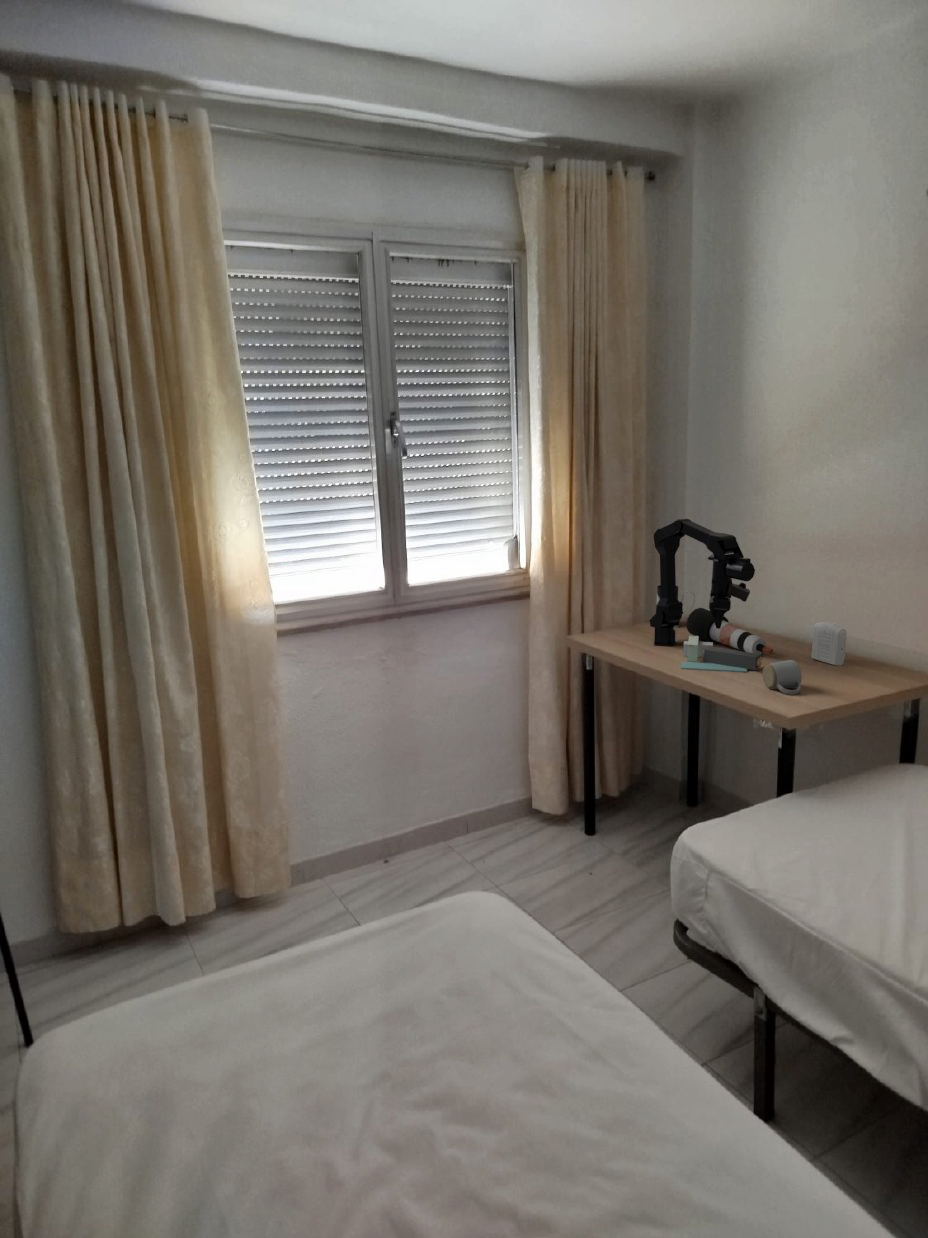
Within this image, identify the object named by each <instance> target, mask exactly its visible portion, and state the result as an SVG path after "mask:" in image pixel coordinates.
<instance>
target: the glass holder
mask: <svg viewBox="0 0 928 1238" xmlns="http://www.w3.org/2000/svg"><path fill="white" fill-rule="evenodd" d="M656 589H657V591H656V605H657V604H658V602H659V600H660V598H661V584H659V585H657V588H656ZM688 592H689V593H691V594H692V595H693V601H692V605H691V606H690V608H689V609H688V610H687V611H686V612H685V613H683V614H682V618H683V617H684V616H686V615H687V614H688V613H689V612H691V611H692V608H693V607H694V604H695V602H696V601H695V599H696V596H695V593H694V592H693V591H691V590H686V591H684V592H683V594H682V596H681V600H679V586H678V585H676V598H677V599H678V601H679V602H682V603H683V600H684V598H685V597H684V596H685V594H686V593H688ZM679 625H680V624H679ZM679 625H678V626H674V629H677V628H679V627H680V626H679Z"/></svg>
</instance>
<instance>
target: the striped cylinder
mask: <svg viewBox="0 0 928 1238" xmlns="http://www.w3.org/2000/svg"><path fill="white" fill-rule="evenodd" d="M686 629H687V631H688V633H689V634H690V635H693V636H699V639H701V640H703V641H704V642H713V643H715V644H719V643H721V644H723V645H726V646H729V647H731V648H734V649H737V650H738V651H742V652H748V653H755V654H763V653H764V654H766V655H768V656H772V655H773V654H774V652H775V650H774V649H773V648H770V647H768V646H767V645H766V640H765V639H764V638H762V637H761V636H757V635H756V634H753V633H751V632H749V631H747V630H744V629H743V628H742V627H740V626H737V625H734V624H733V623H730V622H729V619H728V618H727V617H726V616H724V617H723V620H722V624H721V627H720V629H717V628H716V626H715V623H714V620H713V617H712V614H711V612H710V609H706V608H704V607H698V608H695V609H693V611H692V610H691V611H690V613H689V615H688V618H687V619H686Z"/></svg>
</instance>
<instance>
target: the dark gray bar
mask: <svg viewBox="0 0 928 1238" xmlns="http://www.w3.org/2000/svg"><path fill="white" fill-rule="evenodd" d="M761 654H762V653H761ZM761 654H755V653H748V652H745V651H743V650H734V649H733V650H732V649H726V648H721V647H714V646H713V647H708V648H706V649H704V651H703V657H702V659H703V663H714V664H720V665H726V666H732V667H739V668H745V669H747V670H751V671H752V670H753V671H756V670H757V669H759V668H760V667H761V666H762V663H763V659H762V658H761Z"/></svg>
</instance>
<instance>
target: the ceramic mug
mask: <svg viewBox="0 0 928 1238" xmlns="http://www.w3.org/2000/svg"><path fill="white" fill-rule="evenodd" d="M761 673H762V681H763V683H764V685H765V686H766V687H767V688H768V689H770V690H779V691H780V692H781V693H782V694H785V695H790V696H791V695H792V696H793V695H796V694H799V692H800V690H801V683H802V671H801V668H800V665H799V664H798V662H797V661H795V660H794V659H788V660H783V661H782V660H781V661H776V662H771V663H768V664H766V665H765V666H763V669H762V672H761ZM795 688H797V689H795ZM792 689H794V690H792Z"/></svg>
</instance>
